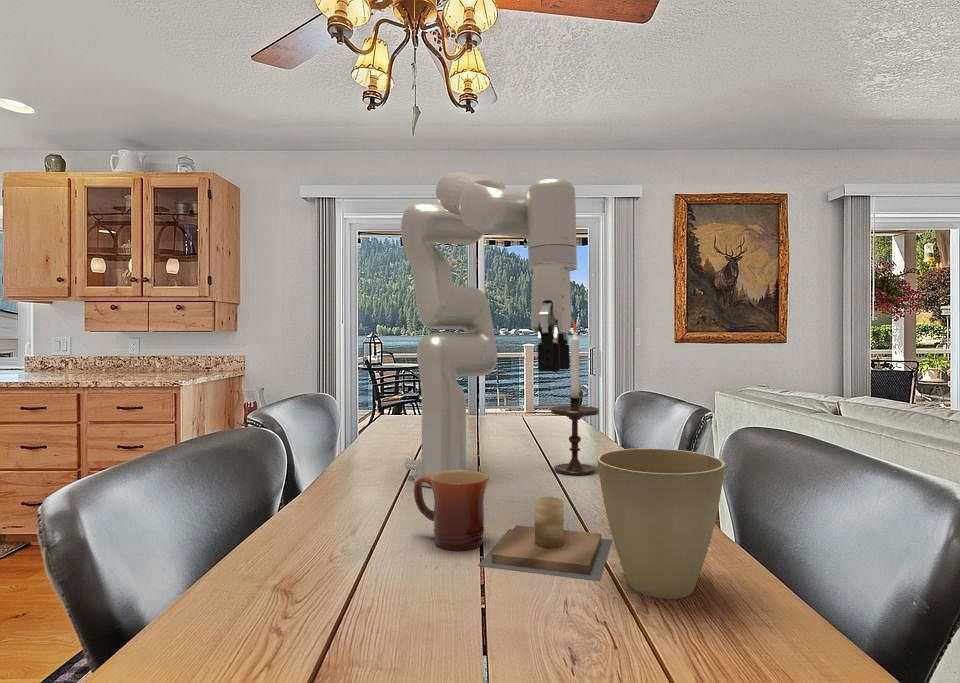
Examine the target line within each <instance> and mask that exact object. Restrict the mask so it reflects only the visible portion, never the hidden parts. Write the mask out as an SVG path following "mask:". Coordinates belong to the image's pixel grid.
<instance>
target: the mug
mask: <svg viewBox="0 0 960 683" xmlns="http://www.w3.org/2000/svg"><path fill="white" fill-rule="evenodd" d="M489 479H490V477H489V475H488V474H486V473H485V472H481V471H476V470H467V469H466V470H452V471H442V472H438V473H434V474H432V475H430V476H429V477H427V476H426V477H421V478H419V479H418V480H417V481H416V482H415V481H414V486H413V496H414V500H415V501H414V502H415V504H416V507H417V508H418V510H419V512H420V514H422V515H423V516H424V517H425V518H426V519H428V520H429V521H432V522H433V538H434V540H435V542H434V543H435V545H436V546H437V547H439V548H440V549H442V550H446V551H452V552H462V551H463V552H465V551H472V550H474V549H477V548H478V549H479V547H480V546H482V544H483V540H484V537H485V530H486V529H485V508H484V506H485V505H484V504H485V502H484V501H485V494H486V489H487V485H488V482H489ZM423 482H424V483H427V484H429V485H430V486H431V487H430V488H431V490H432V494H433V498H434V499H433V502H434V504H433V505H434V506H433V510H431V509H430V508H428V506H427V505H426V503H425V500H424V495H423V486H422V484H423Z"/></svg>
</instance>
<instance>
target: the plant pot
mask: <svg viewBox="0 0 960 683" xmlns="http://www.w3.org/2000/svg"><path fill="white" fill-rule="evenodd" d="M596 459H597V460H596V461H597V469H598V474H599V481H600V487H601V493H602V499H603V500H602V501H603V504H604V507H605V508H604V509H605V512H606V517H607V522H608V524H609V528H610V532H611V537H612V540H613V543H614V546H615V547H614V548H615V549H616V552H617V556H618V559H619V562H620V566H621V568H622V570H623V574H624V575H625V578H626V581H627V583H628V584H627V585H628V586H629V587H630V589H632V590H634V591H635V592H637V593H639V594H641V595H645V596H648V597H650V598H657V599H665V600H667V599H668V600H670V599H671V600H672V599H673V600H676V599H682V598H686V597H688V596H690V595H691V594H693V592H694V590H695V587H696V584H697V582H698V579H699V576H700V574H701V571H702V569H703V566H704V563H705V560H706V557H707V554H708V550H709V547H710V543H711V540H712V536H713V533H714V529H715V525H716V520H717V516H718V513H719V512H718V511H719V506H720V500H721V496H722V495H721V494H722V488H723V481H724V475H725V469H726V468H725V466H726V463H725V461H724V460H722V459H720V458H718V457H715V456H713V455H709V454H706V453H701V452H696V451H690V450H682V449H671V448H658V447H657V448H654V447H653V448H651V447H650V448H649V447H648V448H647V447H646V448H621V449H615V450H610V451H606V452H603V453H601V454H599V455H598V456H597V458H596Z"/></svg>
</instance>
